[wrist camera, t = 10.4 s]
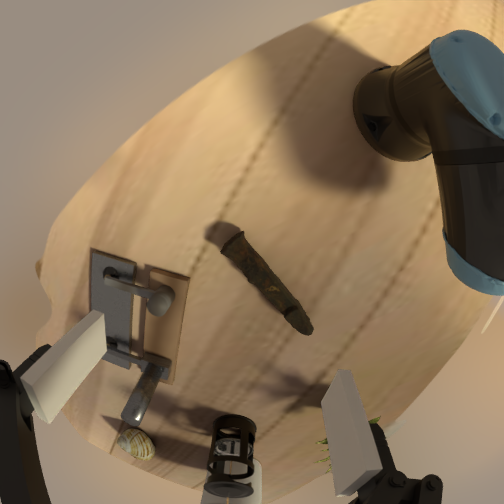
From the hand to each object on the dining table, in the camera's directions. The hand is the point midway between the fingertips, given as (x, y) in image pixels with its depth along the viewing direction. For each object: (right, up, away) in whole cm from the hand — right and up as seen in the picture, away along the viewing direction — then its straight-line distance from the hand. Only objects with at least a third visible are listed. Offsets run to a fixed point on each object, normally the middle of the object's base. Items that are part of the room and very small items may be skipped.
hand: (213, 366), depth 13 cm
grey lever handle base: (-17, -7, +30) cm, 35 cm away
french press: (-2, -32, +37) cm, 49 cm away
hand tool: (+6, +2, +28) cm, 28 cm away
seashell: (-26, -41, +40) cm, 63 cm away
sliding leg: (-18, -12, +30) cm, 37 cm away
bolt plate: (-23, -5, +30) cm, 38 cm away
